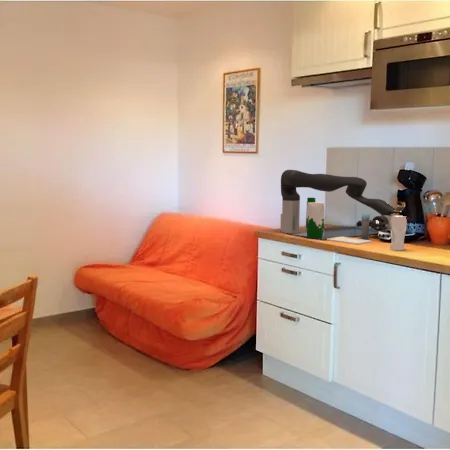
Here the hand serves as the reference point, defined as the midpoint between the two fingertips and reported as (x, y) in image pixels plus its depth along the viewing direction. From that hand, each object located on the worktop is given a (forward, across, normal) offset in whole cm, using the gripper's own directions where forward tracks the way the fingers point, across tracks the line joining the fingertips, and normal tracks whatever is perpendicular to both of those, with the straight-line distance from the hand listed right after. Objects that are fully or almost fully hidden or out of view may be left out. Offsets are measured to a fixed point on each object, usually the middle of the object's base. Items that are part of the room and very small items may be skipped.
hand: (364, 225), depth 284 cm
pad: (+9, -2, +7) cm, 12 cm away
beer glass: (+12, +26, +7) cm, 30 cm away
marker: (-1, 0, +7) cm, 7 cm away
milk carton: (+13, -20, +7) cm, 25 cm away
